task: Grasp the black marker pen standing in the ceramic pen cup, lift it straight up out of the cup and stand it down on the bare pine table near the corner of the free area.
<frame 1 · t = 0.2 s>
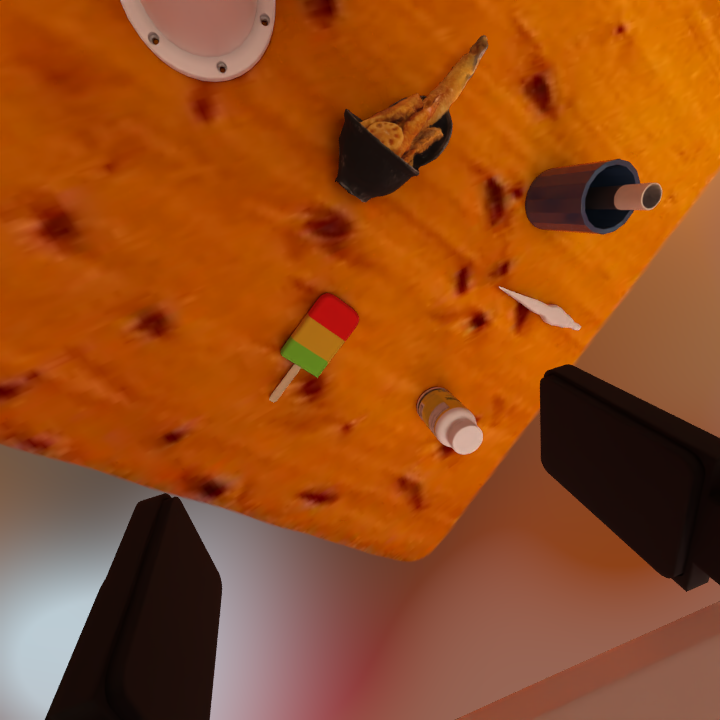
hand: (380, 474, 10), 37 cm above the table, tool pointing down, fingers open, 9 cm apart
marker pen: (553, 199, 47), resting on pen cup
popsicle: (306, 350, 47), on the table
pen cup: (550, 199, 47), on the table
pale pink tapered rod: (534, 306, 52), on the table
supplement bottle: (433, 402, 54), on the table
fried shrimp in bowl: (398, 129, 40), on the table
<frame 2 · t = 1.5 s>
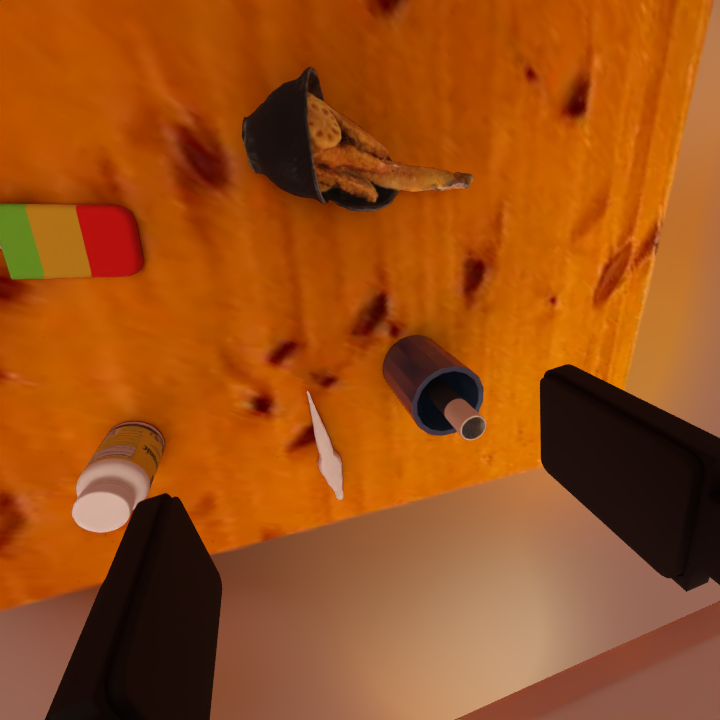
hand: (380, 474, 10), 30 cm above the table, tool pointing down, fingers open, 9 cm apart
marker pen: (414, 366, 42), resting on pen cup
popsicle: (38, 240, 31), on the table
pen cup: (412, 364, 43), on the table
pale pink tapered rod: (323, 442, 44), on the table
supplement bottle: (137, 441, 39), on the table
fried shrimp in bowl: (351, 164, 34), on the table
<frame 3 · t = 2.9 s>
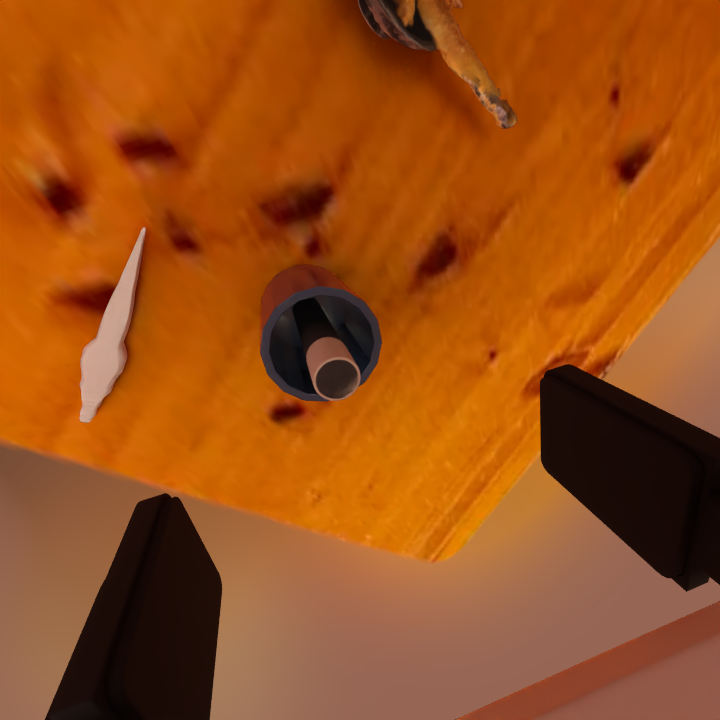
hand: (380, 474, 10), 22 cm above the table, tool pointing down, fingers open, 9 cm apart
marker pen: (307, 310, 30), resting on pen cup
pen cup: (306, 309, 30), on the table
pale pink tapered rod: (119, 325, 28), on the table
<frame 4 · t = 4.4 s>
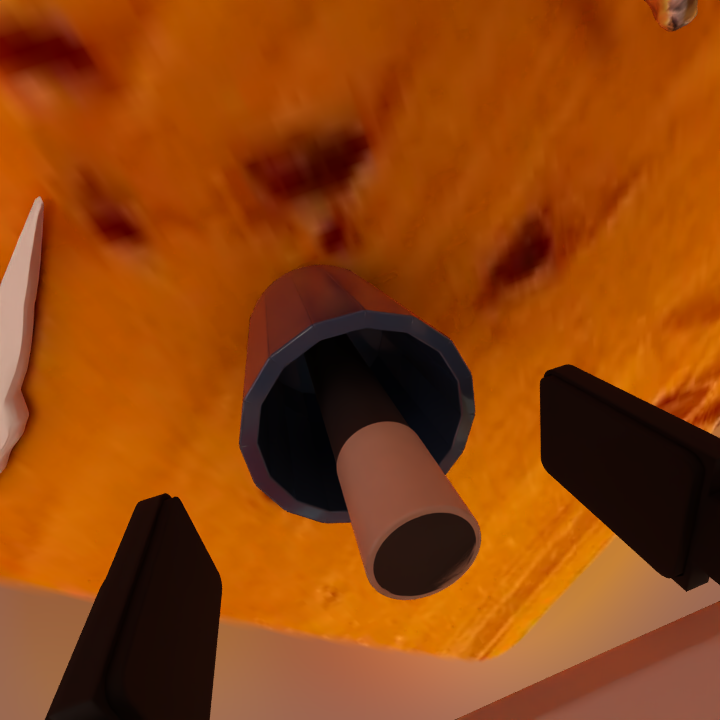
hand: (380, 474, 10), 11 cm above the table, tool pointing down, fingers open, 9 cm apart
marker pen: (322, 338, 19), resting on pen cup
pen cup: (321, 335, 19), on the table
pale pink tapered rod: (14, 362, 17), on the table
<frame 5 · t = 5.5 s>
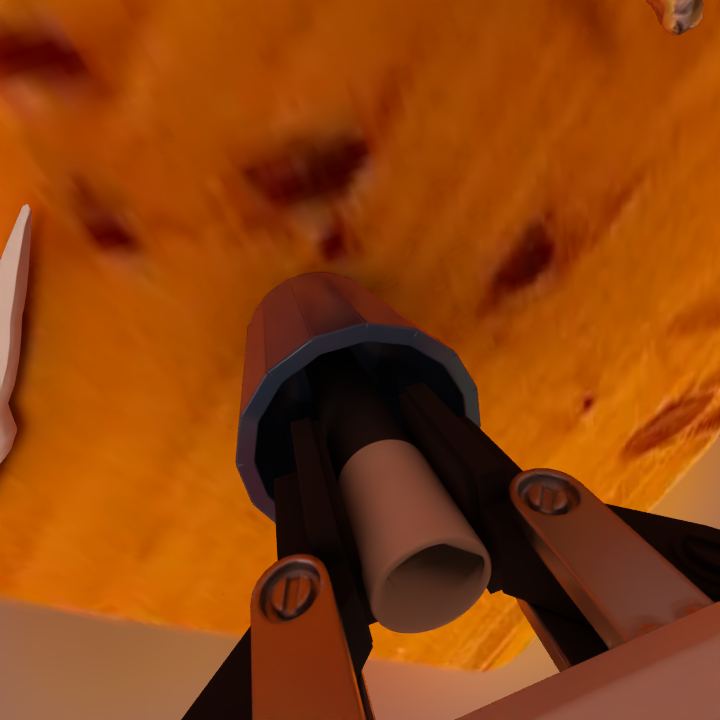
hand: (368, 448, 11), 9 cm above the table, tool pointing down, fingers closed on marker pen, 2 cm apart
marker pen: (322, 347, 18), point 1 cm above the table, touching gripper
pen cup: (320, 343, 19), on the table
pale pink tapered rod: (2, 375, 16), on the table
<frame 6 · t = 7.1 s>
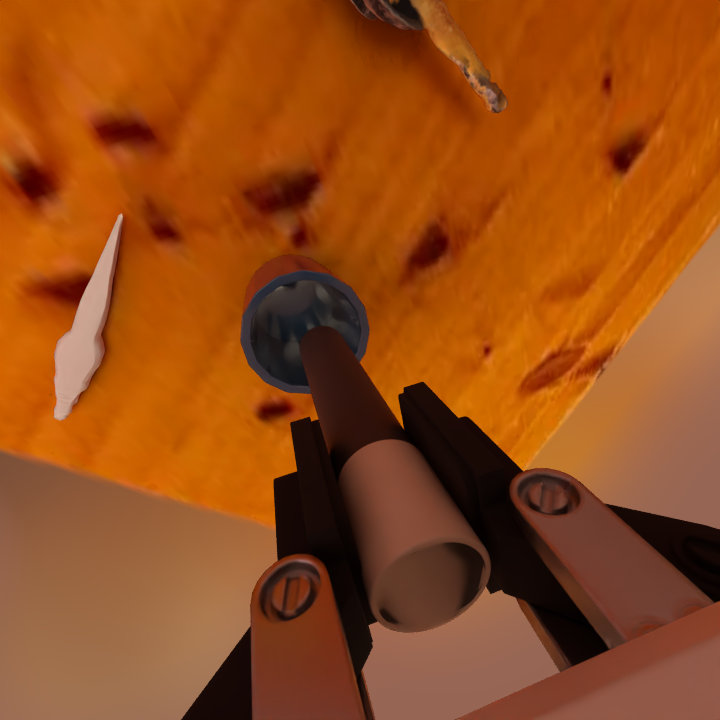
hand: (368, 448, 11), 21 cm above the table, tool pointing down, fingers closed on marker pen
marker pen: (322, 347, 18), point 12 cm above the table, touching gripper
pen cup: (293, 302, 29), on the table
pale pink tapered rod: (96, 317, 27), on the table
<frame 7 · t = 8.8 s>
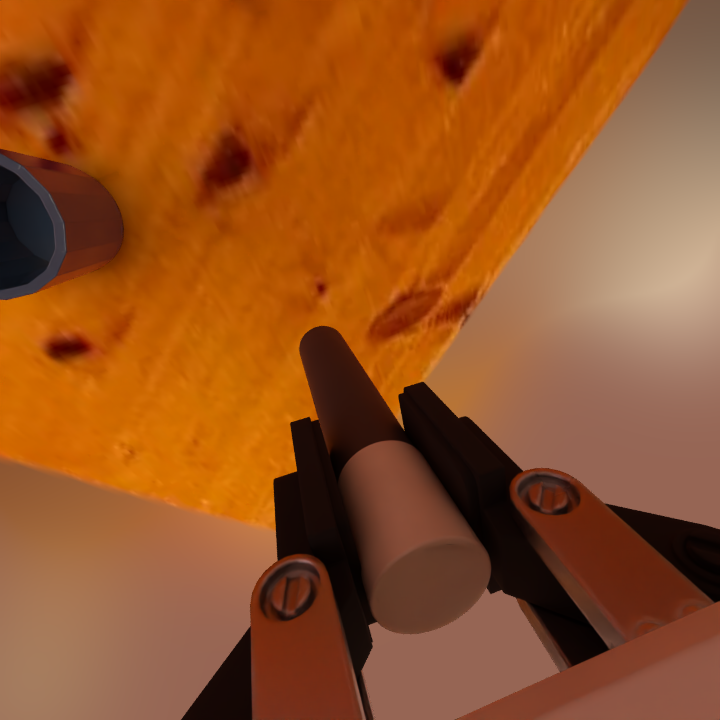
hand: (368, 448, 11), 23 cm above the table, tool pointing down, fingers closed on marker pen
marker pen: (322, 347, 18), point 14 cm above the table, touching gripper
pen cup: (65, 220, 26), on the table
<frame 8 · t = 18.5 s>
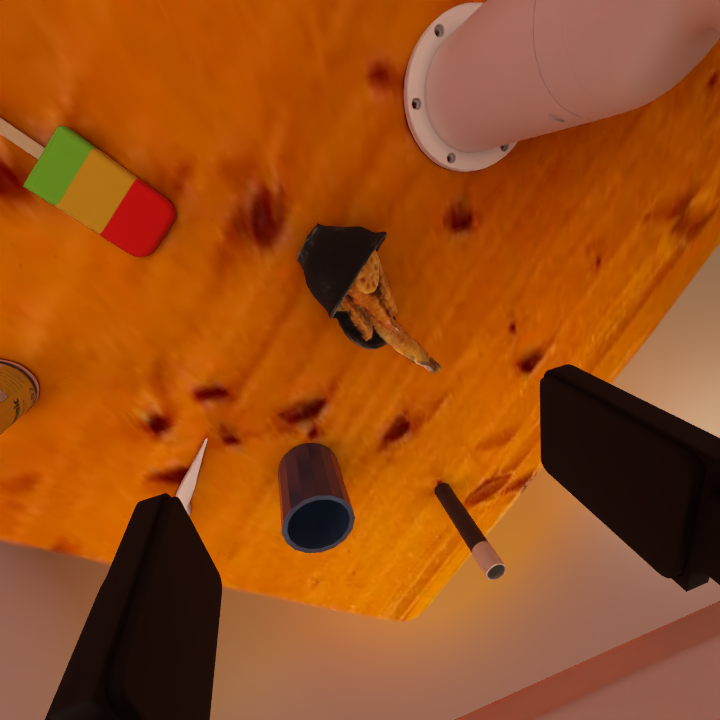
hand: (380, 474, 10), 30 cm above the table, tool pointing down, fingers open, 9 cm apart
marker pen: (442, 489, 52), on the table
popsicle: (76, 174, 30), on the table
pen cup: (308, 468, 45), on the table
pale pink tapered rod: (185, 488, 43), on the table
supplement bottle: (7, 384, 34), on the table
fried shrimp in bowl: (366, 299, 40), on the table
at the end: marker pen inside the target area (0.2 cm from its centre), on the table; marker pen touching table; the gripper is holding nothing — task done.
